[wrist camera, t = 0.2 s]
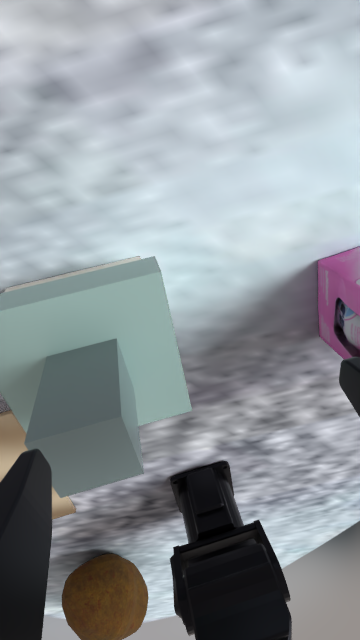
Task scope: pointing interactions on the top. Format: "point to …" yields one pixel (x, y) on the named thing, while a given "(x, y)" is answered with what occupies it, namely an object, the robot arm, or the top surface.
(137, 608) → the potato
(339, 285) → the gum box
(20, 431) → the cork mat
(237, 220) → the top surface
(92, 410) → the lid
